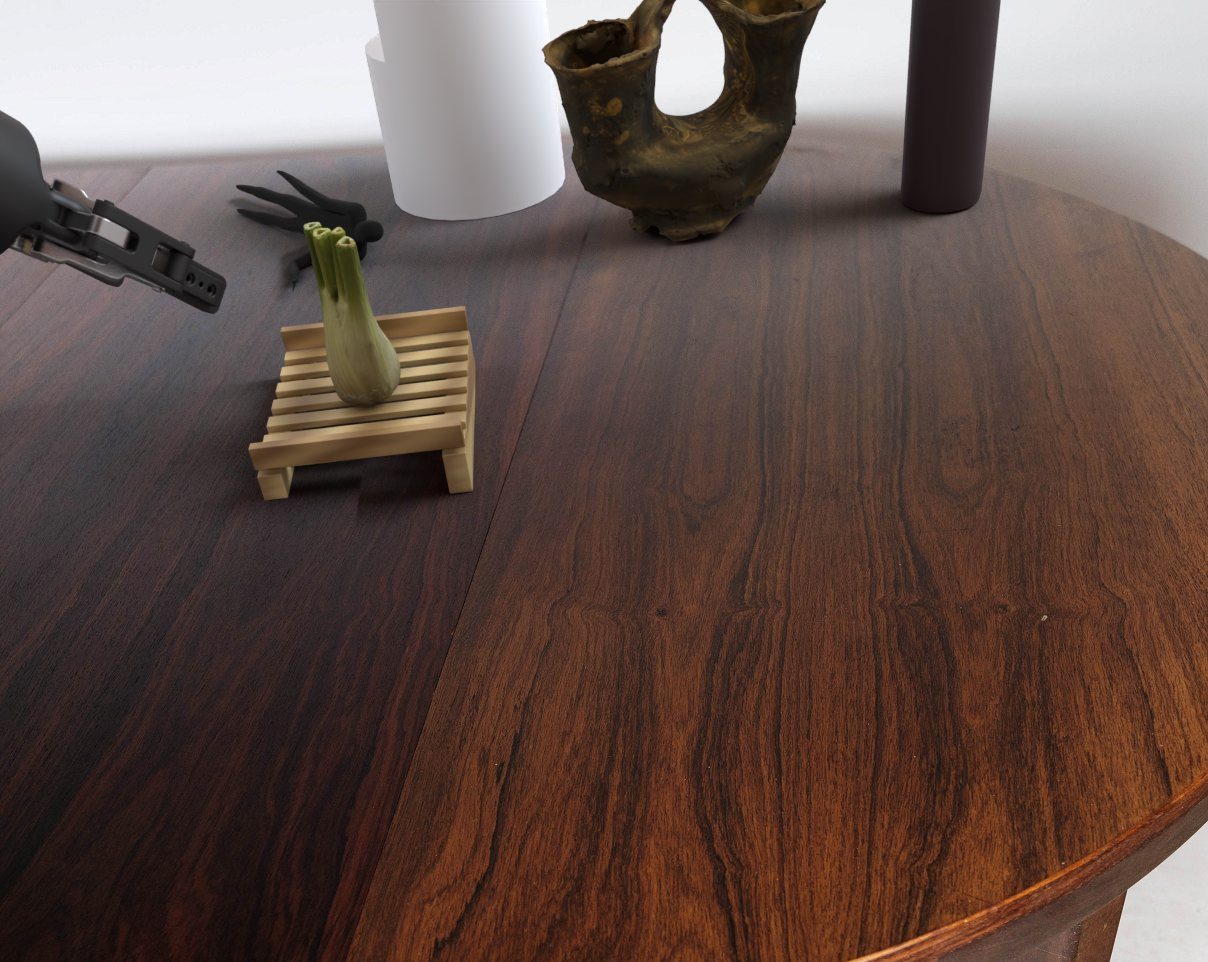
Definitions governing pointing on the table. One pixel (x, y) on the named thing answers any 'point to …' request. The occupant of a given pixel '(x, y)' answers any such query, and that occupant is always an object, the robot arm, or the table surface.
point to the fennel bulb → (350, 321)
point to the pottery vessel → (689, 142)
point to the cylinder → (466, 105)
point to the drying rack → (376, 438)
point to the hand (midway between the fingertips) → (169, 283)
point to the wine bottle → (948, 102)
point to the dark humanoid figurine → (314, 217)
